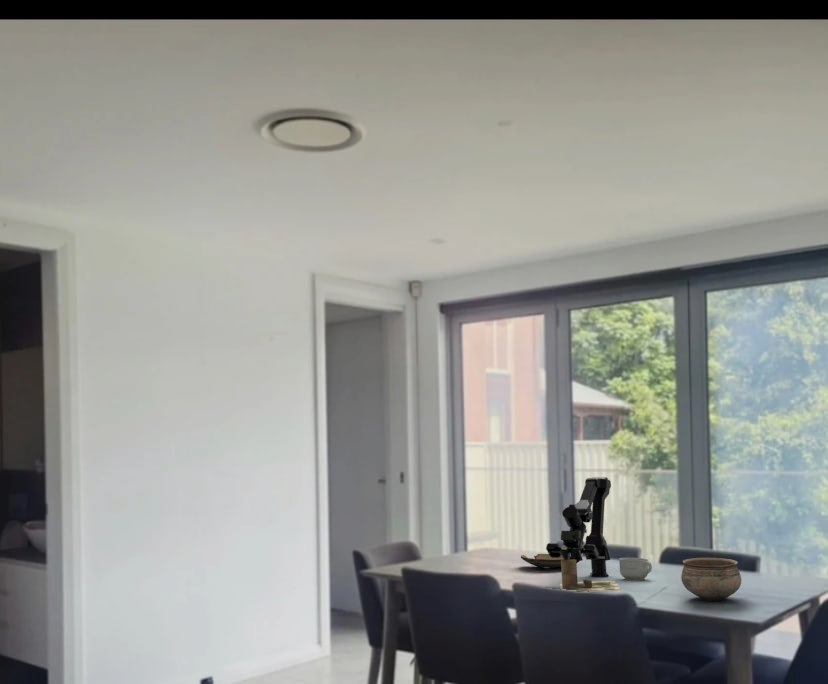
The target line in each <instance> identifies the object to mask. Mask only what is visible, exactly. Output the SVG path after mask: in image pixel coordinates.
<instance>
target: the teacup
mask: <svg viewBox="0 0 828 684" xmlns="http://www.w3.org/2000/svg"><path fill="white" fill-rule="evenodd" d="M618 561H619V563H618V564H619V573H620V575H621V576H622V577H623V578H624V580H626V581H643V580H645V579H646V578H647V577H648V575H649V573H651V572H652V569H653V566H652V563H651V561H649V559H648V558H641V557H620V558H618Z"/></svg>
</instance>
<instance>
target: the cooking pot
mask: <svg viewBox="0 0 828 684" xmlns="http://www.w3.org/2000/svg"><path fill="white" fill-rule="evenodd" d="M682 563H683V564H684V565H683V567H682V570H681V574H680V575H681V577H680V579H681V580H680V581H681V582H682V585H683V586H684V588H685V589H686V590H687V591H688V592H689V593H692V594H693V595H695V596H696V597H698V598H699V599H701V600H703V601H706V602H720V601H721V602H722V601H724V600H726V599H727V598H728V597H730V596H732V595H734V594H735V593H736V592H737V591H738V590H739V589H740V587H741V585H742V575H741V573H740V570H739V568H738V566H737V564H738V563H739V562H738V561H737V560H734V559H728V558H721V557H719V558H718V557H695V558H694V557H693V558H687V559H683V560H682Z"/></svg>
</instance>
